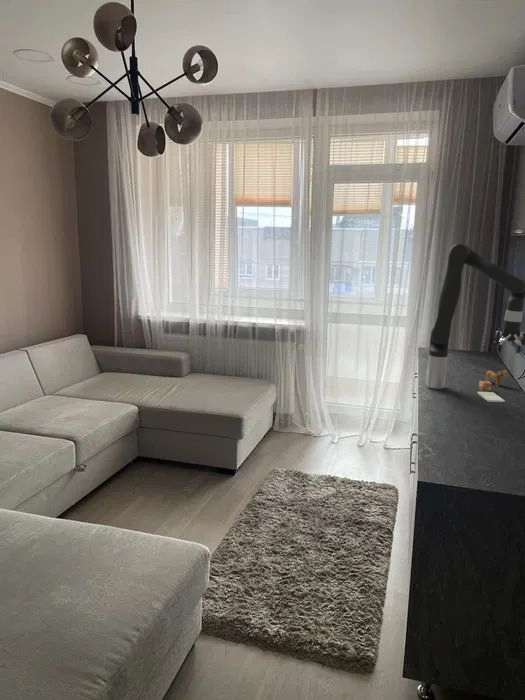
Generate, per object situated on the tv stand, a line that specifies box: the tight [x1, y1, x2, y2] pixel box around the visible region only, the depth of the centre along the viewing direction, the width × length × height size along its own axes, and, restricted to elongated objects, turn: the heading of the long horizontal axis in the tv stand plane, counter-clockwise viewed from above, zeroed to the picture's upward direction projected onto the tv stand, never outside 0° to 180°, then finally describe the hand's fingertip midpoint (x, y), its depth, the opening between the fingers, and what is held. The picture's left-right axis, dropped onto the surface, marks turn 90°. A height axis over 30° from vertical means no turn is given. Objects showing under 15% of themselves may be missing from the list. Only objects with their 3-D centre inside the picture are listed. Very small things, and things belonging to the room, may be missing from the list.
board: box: [476, 391, 506, 403], centre depth 253 cm, size 8×14×1 cm, turn 178°
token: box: [478, 380, 492, 392], centre depth 265 cm, size 4×4×4 cm
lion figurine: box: [480, 369, 509, 387], centre depth 276 cm, size 15×5×9 cm, turn 35°
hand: (508, 352), depth 247 cm, fingers open, 8 cm apart
